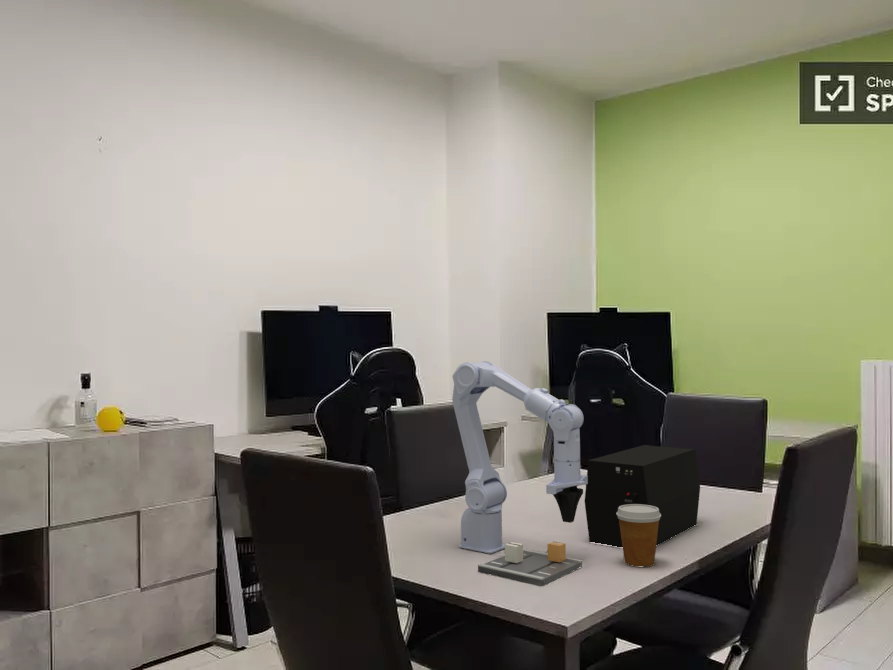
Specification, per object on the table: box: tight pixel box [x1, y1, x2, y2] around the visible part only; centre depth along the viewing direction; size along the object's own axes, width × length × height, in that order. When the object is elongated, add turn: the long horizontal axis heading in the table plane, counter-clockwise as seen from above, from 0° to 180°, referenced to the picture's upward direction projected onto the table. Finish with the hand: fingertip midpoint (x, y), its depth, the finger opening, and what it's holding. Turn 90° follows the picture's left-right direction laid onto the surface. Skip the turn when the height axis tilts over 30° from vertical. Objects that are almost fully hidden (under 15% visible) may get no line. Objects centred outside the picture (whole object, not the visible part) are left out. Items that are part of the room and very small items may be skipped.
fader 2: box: [547, 541, 567, 562], centre depth 167 cm, size 3×2×4 cm
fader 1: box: [504, 541, 524, 563], centre depth 166 cm, size 3×2×4 cm
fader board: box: [477, 548, 583, 587], centre depth 165 cm, size 16×16×2 cm
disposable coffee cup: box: [616, 504, 661, 567], centre depth 168 cm, size 10×10×12 cm
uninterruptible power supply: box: [584, 444, 701, 547], centre depth 193 cm, size 16×34×20 cm, turn 141°
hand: (568, 521), depth 170 cm, fingers closed
